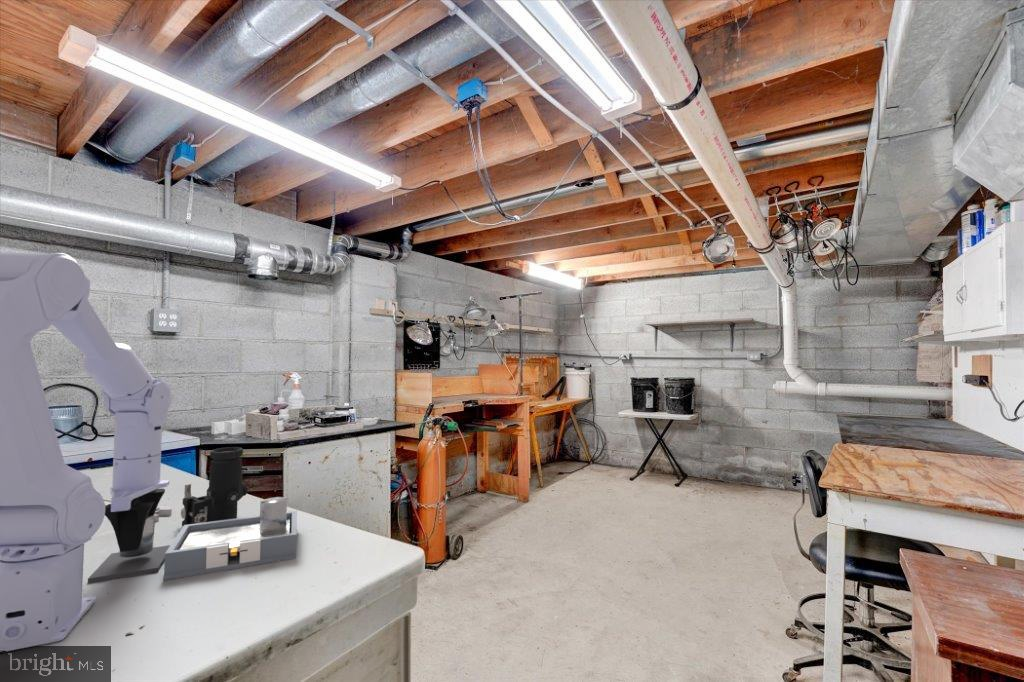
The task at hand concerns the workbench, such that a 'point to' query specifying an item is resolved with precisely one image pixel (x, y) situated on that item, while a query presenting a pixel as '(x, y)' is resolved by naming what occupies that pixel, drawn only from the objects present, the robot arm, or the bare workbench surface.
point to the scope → (217, 489)
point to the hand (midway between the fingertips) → (134, 544)
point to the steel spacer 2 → (273, 515)
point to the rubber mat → (129, 565)
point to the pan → (227, 536)
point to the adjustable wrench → (160, 511)
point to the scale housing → (227, 549)
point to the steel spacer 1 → (143, 540)
